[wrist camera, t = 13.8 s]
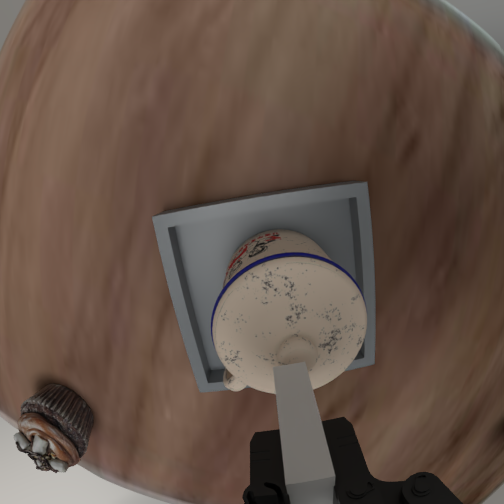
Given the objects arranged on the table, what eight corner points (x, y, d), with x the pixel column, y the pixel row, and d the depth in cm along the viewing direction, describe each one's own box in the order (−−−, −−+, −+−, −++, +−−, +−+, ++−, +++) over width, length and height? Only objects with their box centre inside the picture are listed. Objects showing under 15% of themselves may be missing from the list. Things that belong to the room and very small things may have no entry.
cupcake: (114, 426, 32) (87, 484, 22) (72, 437, 33) (45, 485, 23) (63, 369, 29) (21, 422, 20) (27, 387, 31) (-10, 431, 21)
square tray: (354, 180, 25) (367, 182, 22) (364, 347, 28) (374, 364, 26) (162, 211, 25) (152, 216, 22) (203, 373, 29) (200, 392, 26)
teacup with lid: (261, 203, 24) (271, 231, 13) (353, 263, 25) (419, 327, 14) (187, 322, 26) (152, 413, 15) (274, 368, 28) (285, 466, 16)
